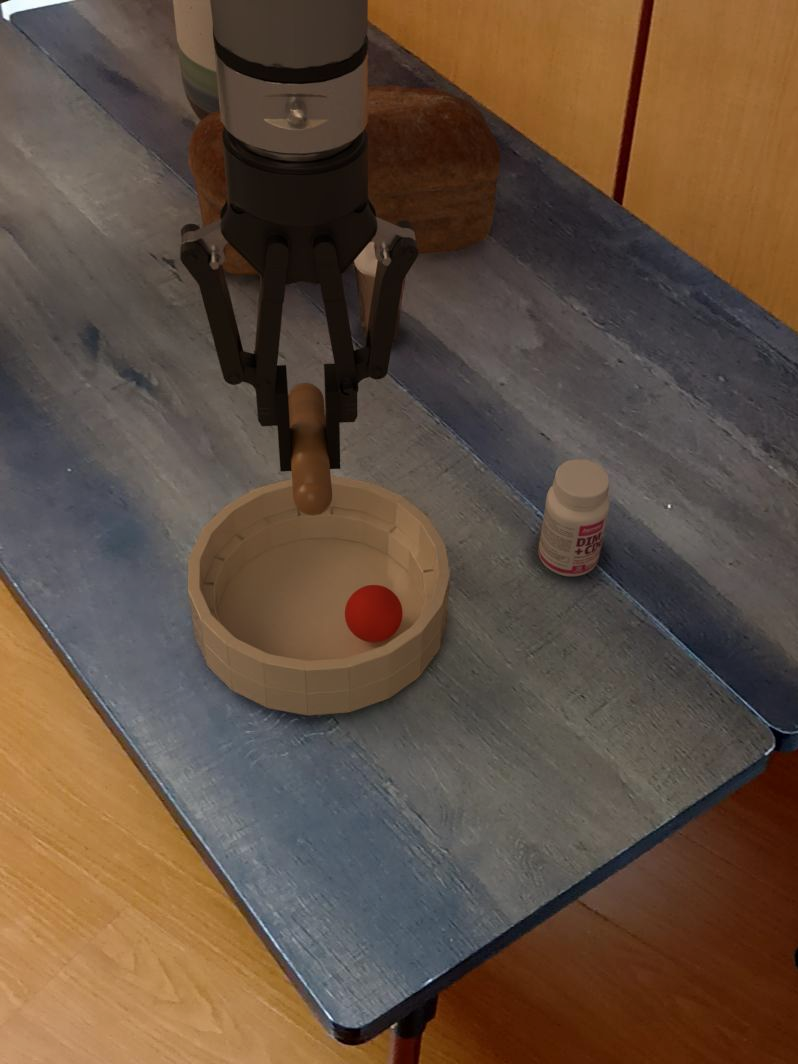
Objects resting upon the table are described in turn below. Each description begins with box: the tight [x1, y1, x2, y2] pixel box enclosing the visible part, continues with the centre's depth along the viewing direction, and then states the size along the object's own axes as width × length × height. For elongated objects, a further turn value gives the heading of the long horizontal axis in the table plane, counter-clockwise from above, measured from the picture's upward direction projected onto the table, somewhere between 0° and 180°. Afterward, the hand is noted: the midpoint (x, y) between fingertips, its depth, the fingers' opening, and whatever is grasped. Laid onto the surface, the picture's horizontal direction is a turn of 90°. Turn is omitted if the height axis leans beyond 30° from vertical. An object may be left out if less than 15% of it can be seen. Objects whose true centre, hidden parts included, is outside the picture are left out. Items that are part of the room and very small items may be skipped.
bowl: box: [187, 475, 451, 716], centre depth 93 cm, size 18×18×6 cm
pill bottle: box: [537, 458, 611, 577], centre depth 98 cm, size 5×5×8 cm
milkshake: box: [354, 242, 407, 343], centre depth 113 cm, size 4×5×10 cm
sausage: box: [288, 382, 332, 516], centre depth 85 cm, size 11×2×2 cm, turn 10°
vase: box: [172, 0, 220, 121], centre depth 131 cm, size 17×17×24 cm
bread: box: [187, 85, 501, 276], centre depth 121 cm, size 12×28×14 cm, turn 111°
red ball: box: [345, 585, 403, 642], centre depth 92 cm, size 4×4×4 cm
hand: (309, 455), depth 85 cm, fingers closed on sausage, 2 cm apart
